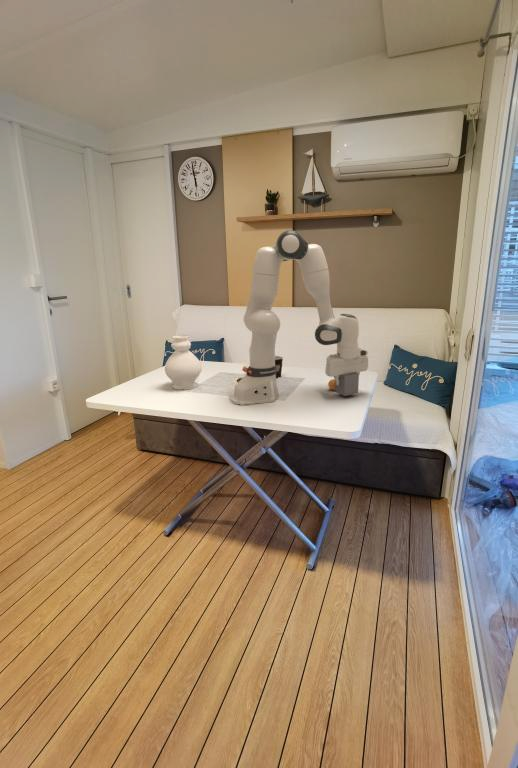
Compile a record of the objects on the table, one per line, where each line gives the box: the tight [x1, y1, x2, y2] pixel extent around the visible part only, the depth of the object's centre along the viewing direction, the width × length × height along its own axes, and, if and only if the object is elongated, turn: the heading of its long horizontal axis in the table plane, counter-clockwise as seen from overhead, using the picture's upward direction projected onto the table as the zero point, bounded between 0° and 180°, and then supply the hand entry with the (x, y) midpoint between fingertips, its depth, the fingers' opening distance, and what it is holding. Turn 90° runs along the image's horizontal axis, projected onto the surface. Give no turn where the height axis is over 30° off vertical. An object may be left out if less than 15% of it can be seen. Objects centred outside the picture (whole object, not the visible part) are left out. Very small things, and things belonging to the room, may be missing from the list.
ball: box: [327, 378, 335, 391], centre depth 188 cm, size 5×5×5 cm
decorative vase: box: [164, 334, 203, 390], centre depth 200 cm, size 18×18×25 cm
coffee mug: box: [275, 355, 284, 379], centre depth 214 cm, size 12×9×10 cm
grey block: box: [334, 373, 360, 397], centre depth 179 cm, size 7×7×9 cm
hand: (346, 383), depth 179 cm, fingers closed on grey block, 7 cm apart
